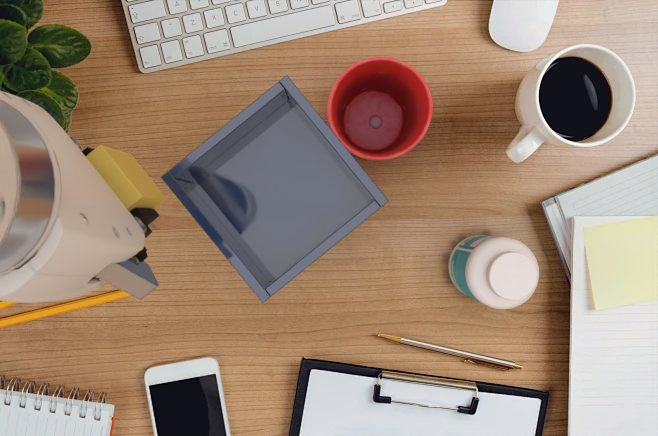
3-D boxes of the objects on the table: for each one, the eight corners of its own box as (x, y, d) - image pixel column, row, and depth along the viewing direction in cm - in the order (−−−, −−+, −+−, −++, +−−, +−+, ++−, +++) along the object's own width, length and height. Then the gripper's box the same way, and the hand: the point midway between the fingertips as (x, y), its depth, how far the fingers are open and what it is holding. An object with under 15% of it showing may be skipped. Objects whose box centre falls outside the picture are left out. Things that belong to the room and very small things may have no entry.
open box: (176, 180, 52) (160, 177, 47) (290, 88, 52) (286, 74, 47) (269, 294, 52) (262, 303, 47) (383, 202, 52) (389, 201, 47)
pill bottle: (486, 309, 72) (522, 330, 59) (434, 274, 72) (459, 287, 59) (522, 257, 72) (566, 266, 59) (470, 221, 72) (503, 223, 59)
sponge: (74, 199, 42) (34, 196, 36) (130, 153, 42) (100, 143, 36) (110, 245, 42) (76, 249, 36) (167, 199, 42) (142, 196, 36)
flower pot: (425, 160, 72) (440, 152, 63) (333, 173, 72) (334, 166, 63) (413, 71, 72) (426, 49, 63) (321, 84, 72) (320, 64, 63)
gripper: (-274, 73, 23) (-4, 137, 41) (6, 423, 23) (152, 331, 41) (-118, -53, 23) (83, 67, 41) (163, 297, 23) (238, 261, 41)
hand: (116, 199), depth 41 cm, fingers closed on sponge, 4 cm apart
